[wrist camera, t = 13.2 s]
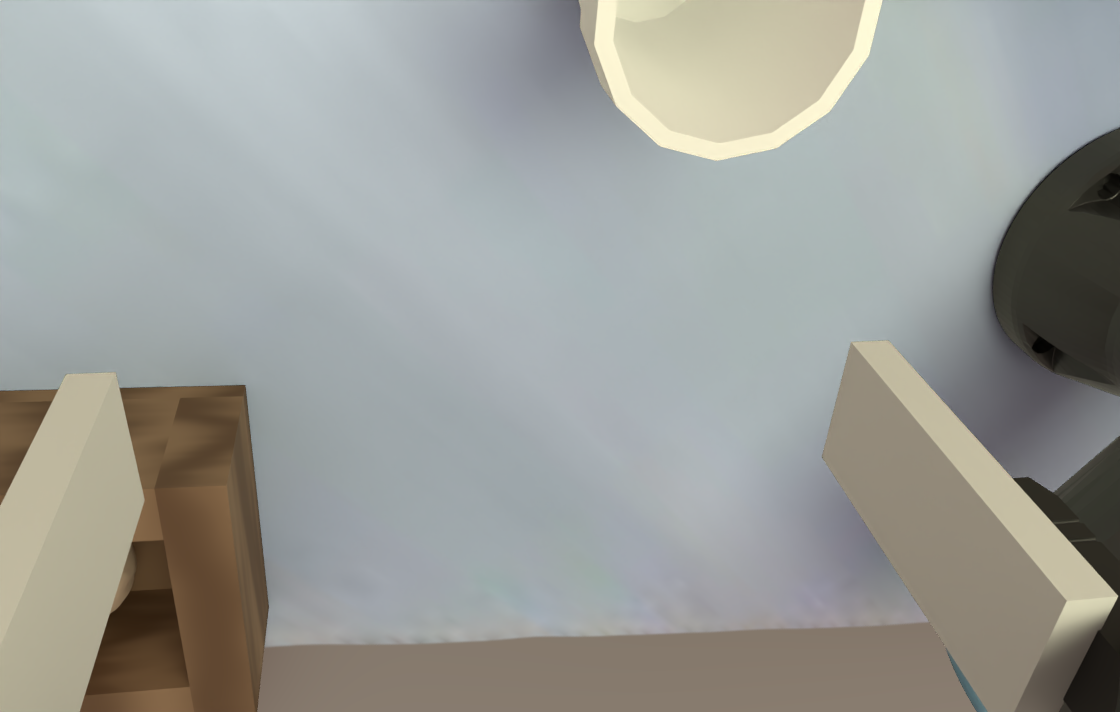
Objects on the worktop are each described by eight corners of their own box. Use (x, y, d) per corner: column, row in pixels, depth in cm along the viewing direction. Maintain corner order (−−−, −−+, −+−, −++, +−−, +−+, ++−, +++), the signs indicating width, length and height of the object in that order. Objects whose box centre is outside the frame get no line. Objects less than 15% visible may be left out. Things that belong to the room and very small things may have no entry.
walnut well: (245, 385, 48) (226, 485, 42) (268, 606, 57) (256, 719, 50) (-104, 393, 45) (-185, 503, 38) (-24, 626, 53) (-80, 749, 47)
